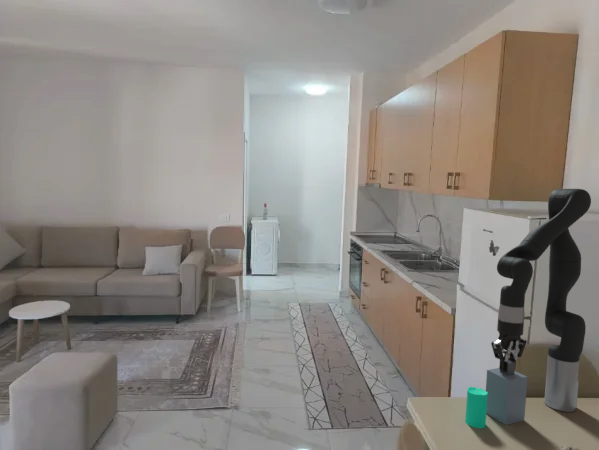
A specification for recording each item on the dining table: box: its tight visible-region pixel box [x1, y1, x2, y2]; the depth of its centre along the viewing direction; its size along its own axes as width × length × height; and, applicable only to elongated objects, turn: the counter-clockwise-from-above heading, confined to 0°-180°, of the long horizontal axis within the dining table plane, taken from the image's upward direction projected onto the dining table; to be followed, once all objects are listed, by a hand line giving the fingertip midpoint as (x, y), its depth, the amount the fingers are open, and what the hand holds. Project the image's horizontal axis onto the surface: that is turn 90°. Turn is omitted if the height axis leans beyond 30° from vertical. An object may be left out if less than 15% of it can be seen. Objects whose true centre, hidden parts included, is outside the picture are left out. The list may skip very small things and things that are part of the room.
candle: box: [465, 386, 488, 429], centre depth 133 cm, size 6×6×12 cm
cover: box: [485, 360, 528, 426], centre depth 138 cm, size 8×8×18 cm
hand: (507, 370), depth 138 cm, fingers closed on cover, 3 cm apart
